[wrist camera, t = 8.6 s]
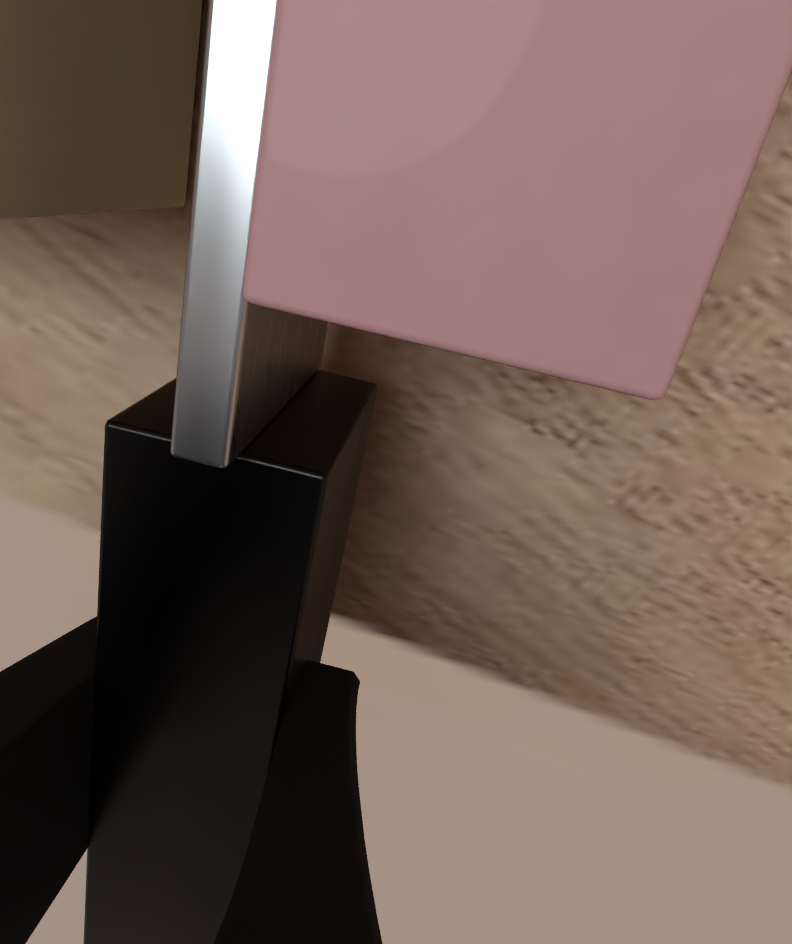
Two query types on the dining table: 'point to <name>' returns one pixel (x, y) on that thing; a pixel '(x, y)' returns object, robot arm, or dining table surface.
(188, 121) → the cake
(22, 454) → the dining table surface
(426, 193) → the cake slice
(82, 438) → the dining table surface
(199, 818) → the cake knife
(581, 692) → the dining table surface
